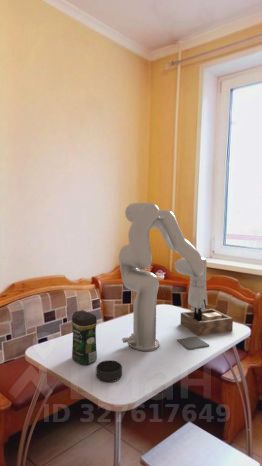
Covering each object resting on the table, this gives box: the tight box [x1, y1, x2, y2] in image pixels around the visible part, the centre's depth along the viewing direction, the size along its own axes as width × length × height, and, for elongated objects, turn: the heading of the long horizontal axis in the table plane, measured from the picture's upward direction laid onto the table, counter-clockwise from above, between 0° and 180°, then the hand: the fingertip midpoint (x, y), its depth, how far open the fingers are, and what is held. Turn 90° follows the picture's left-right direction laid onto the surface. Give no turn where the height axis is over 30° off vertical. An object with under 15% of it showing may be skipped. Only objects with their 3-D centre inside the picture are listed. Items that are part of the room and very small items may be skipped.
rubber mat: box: [176, 335, 210, 351], centre depth 141 cm, size 10×10×1 cm
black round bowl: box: [95, 359, 123, 383], centre depth 113 cm, size 9×9×4 cm
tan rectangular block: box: [202, 312, 222, 321], centre depth 161 cm, size 8×5×3 cm, turn 112°
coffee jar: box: [71, 309, 98, 365], centre depth 124 cm, size 10×8×19 cm
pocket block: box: [180, 308, 234, 337], centre depth 160 cm, size 19×16×6 cm
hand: (197, 320), depth 158 cm, fingers closed
